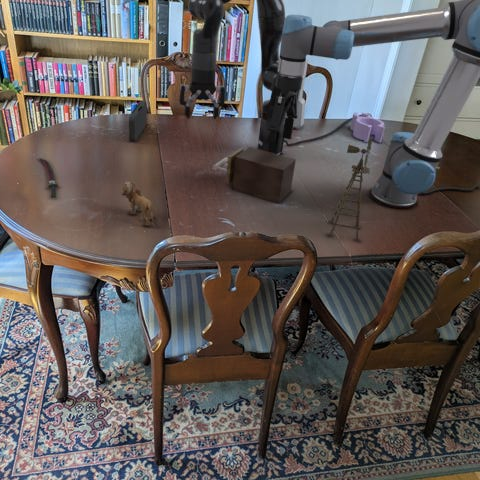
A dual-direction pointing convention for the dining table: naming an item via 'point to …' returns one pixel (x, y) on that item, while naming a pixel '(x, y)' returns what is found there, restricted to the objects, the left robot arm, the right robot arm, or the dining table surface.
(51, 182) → the sword
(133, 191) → the lion figurine
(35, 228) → the dining table surface
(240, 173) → the cabinet
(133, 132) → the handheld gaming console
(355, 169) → the miniature windmill
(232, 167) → the drawer
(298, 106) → the electronic device
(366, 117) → the clip
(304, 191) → the dining table surface
